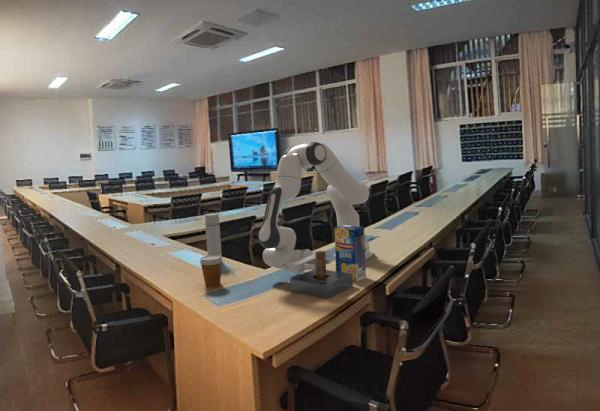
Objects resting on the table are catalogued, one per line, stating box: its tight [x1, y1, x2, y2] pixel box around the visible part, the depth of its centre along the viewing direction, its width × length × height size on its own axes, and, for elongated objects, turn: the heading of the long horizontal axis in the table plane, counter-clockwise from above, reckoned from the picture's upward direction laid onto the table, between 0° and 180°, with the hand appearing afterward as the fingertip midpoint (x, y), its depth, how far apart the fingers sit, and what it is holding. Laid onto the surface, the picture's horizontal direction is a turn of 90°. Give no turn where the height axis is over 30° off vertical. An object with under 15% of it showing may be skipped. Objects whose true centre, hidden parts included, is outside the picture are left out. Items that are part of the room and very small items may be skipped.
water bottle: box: [203, 213, 223, 259], centre depth 231 cm, size 9×8×25 cm
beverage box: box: [334, 225, 367, 282], centre depth 192 cm, size 7×11×22 cm, turn 46°
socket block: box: [289, 269, 354, 300], centre depth 179 cm, size 18×18×5 cm
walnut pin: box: [315, 250, 327, 279], centre depth 179 cm, size 4×4×14 cm
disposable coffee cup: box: [199, 255, 223, 288], centre depth 191 cm, size 10×10×12 cm
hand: (322, 264), depth 178 cm, fingers open, 8 cm apart
